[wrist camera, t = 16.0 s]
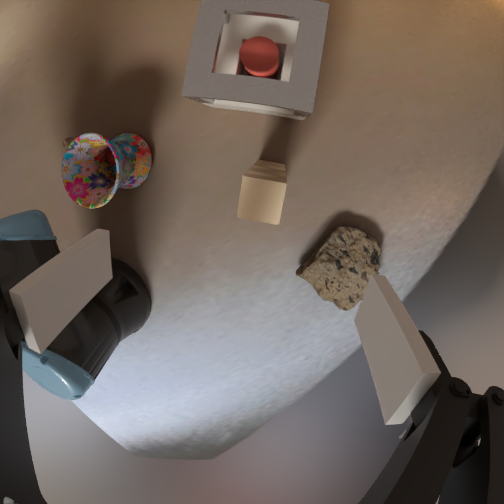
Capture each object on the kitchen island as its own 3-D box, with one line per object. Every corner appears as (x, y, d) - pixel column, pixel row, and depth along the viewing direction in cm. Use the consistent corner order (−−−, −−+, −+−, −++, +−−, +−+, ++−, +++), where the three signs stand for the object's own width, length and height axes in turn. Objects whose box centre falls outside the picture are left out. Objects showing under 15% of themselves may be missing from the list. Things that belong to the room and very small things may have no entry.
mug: (168, 152, 38) (132, 160, 28) (136, 202, 41) (98, 223, 31) (112, 110, 35) (68, 109, 26) (85, 159, 39) (41, 171, 29)
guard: (200, 102, 29) (181, 96, 23) (217, 13, 24) (204, -10, 18) (306, 117, 29) (312, 113, 23) (321, 25, 24) (329, 3, 18)
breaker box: (212, 107, 35) (200, 102, 29) (227, 29, 30) (217, 13, 24) (302, 120, 34) (306, 117, 29) (315, 40, 29) (321, 25, 24)
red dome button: (245, 80, 31) (236, 67, 25) (250, 53, 30) (242, 34, 23) (276, 84, 31) (275, 72, 24) (281, 57, 30) (281, 39, 23)
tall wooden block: (254, 184, 38) (236, 217, 24) (258, 159, 37) (242, 175, 22) (280, 189, 38) (278, 225, 24) (284, 164, 37) (286, 183, 22)
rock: (392, 258, 41) (401, 271, 37) (338, 306, 45) (342, 323, 41) (346, 209, 38) (353, 219, 34) (289, 265, 43) (290, 280, 39)
